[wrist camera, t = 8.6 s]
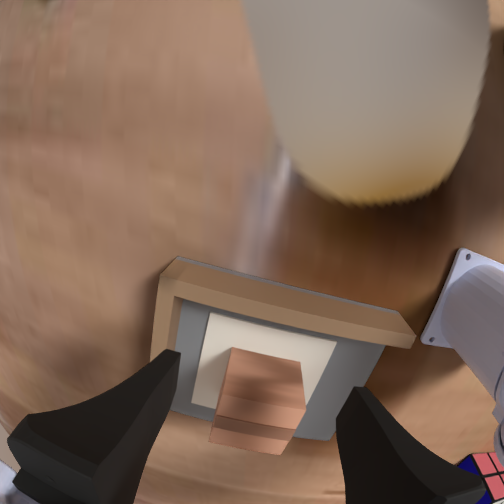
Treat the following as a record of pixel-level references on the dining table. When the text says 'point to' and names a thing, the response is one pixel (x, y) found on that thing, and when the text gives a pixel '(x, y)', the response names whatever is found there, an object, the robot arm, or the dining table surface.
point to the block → (258, 402)
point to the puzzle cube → (487, 475)
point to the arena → (268, 337)
